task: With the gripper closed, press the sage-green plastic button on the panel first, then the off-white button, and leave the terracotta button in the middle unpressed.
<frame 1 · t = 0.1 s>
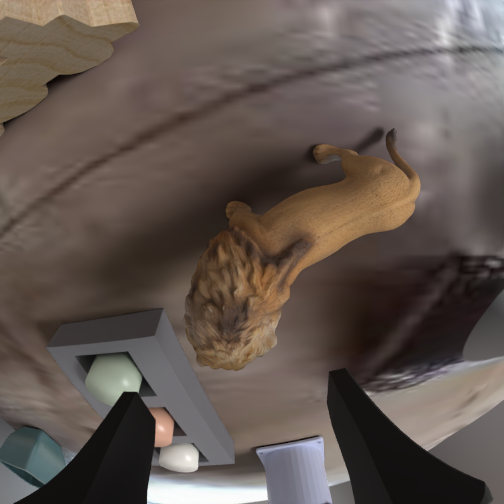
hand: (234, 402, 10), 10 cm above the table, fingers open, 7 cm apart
button panel: (156, 398, 24), on the table
sage button: (115, 377, 19), point 3 cm above the table, slide at 0.0 cm
lion figurine: (295, 205, 18), on the table
toy train: (32, 71, 12), on the table
terracotta button: (151, 423, 22), point 3 cm above the table, slide at 0.0 cm
flower pot: (43, 435, 30), on the table
cream button: (179, 453, 24), point 3 cm above the table, slide at 0.0 cm
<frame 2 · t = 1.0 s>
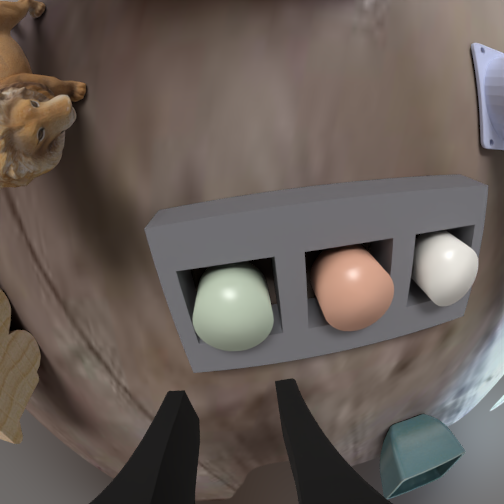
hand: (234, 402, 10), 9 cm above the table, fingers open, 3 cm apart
button panel: (334, 261, 18), on the table
sage button: (233, 305, 16), point 3 cm above the table, slide at 0.0 cm
lion figurine: (56, 72, 12), on the table
terracotta button: (350, 285, 16), point 3 cm above the table, slide at 0.0 cm
flower pot: (402, 426, 30), on the table
cream button: (442, 266, 16), point 3 cm above the table, slide at 0.0 cm
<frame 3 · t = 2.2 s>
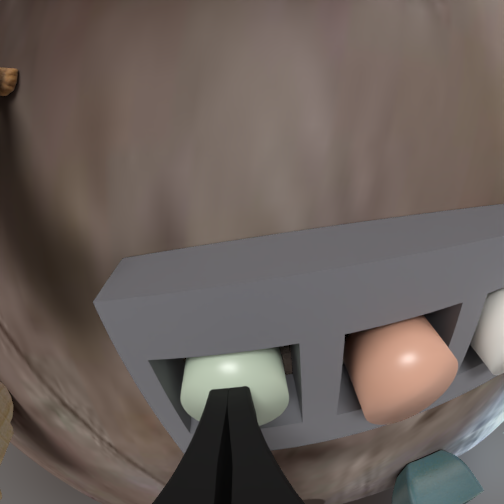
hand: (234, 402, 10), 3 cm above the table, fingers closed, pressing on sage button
button panel: (373, 321, 13), on the table
sage button: (234, 374, 11), point 2 cm above the table, slide at 1.3 cm, touching gripper
terracotta button: (399, 366, 10), point 3 cm above the table, slide at 0.0 cm
flower pot: (418, 462, 24), on the table
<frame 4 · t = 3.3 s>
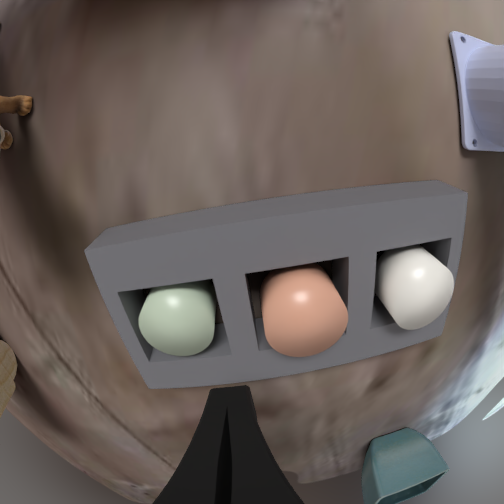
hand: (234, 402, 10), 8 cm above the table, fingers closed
button panel: (291, 278, 17), on the table
sage button: (179, 311, 16), point 2 cm above the table, slide at 1.3 cm
lion figurine: (8, 87, 11), on the table
terracotta button: (301, 308, 15), point 3 cm above the table, slide at 0.0 cm
flower pot: (385, 439, 29), on the table
cream button: (412, 284, 15), point 3 cm above the table, slide at 0.0 cm
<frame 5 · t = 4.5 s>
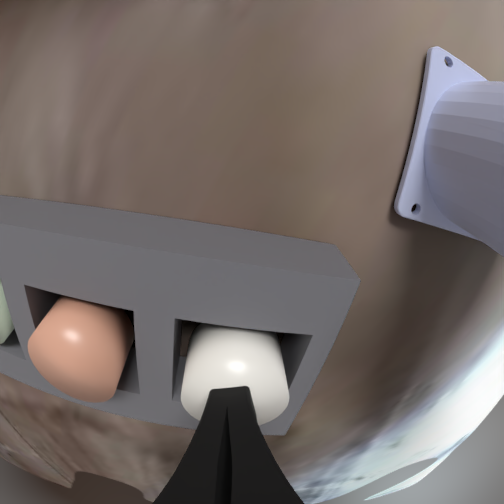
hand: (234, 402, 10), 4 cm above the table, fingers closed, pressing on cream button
button panel: (104, 305, 13), on the table
terracotta button: (81, 345, 10), point 3 cm above the table, slide at 0.0 cm
cream button: (234, 373, 11), point 3 cm above the table, slide at 0.0 cm, touching gripper
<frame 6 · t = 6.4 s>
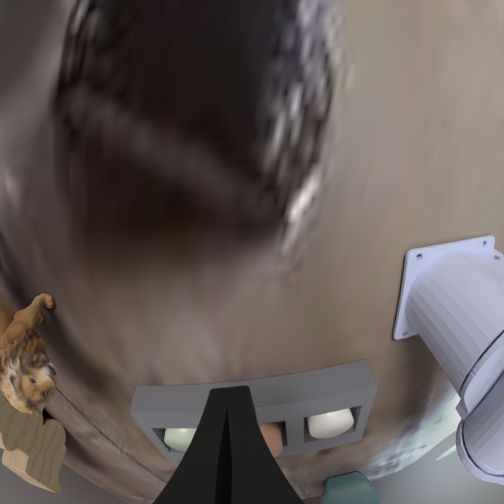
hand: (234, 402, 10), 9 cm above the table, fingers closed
button panel: (256, 411, 25), on the table
sage button: (187, 430, 23), point 2 cm above the table, slide at 1.3 cm
lion figurine: (26, 277, 18), on the table
toy train: (26, 397, 25), on the table
terracotta button: (258, 437, 22), point 3 cm above the table, slide at 0.0 cm
flower pot: (340, 477, 36), on the table
cream button: (328, 414, 23), point 2 cm above the table, slide at 1.3 cm
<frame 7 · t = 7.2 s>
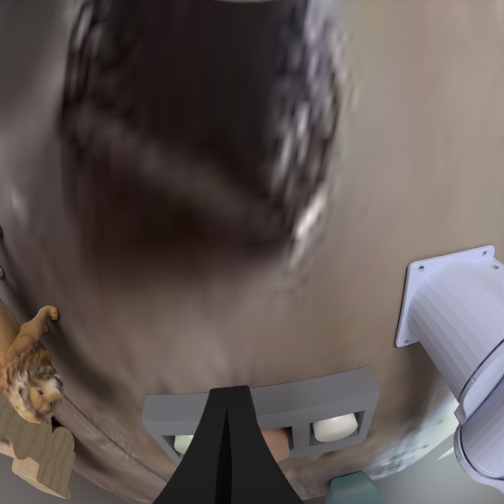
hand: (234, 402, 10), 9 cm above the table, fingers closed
button panel: (262, 417, 25), on the table
sage button: (196, 436, 24), point 2 cm above the table, slide at 1.3 cm
lion figurine: (31, 288, 18), on the table
toy train: (34, 405, 26), on the table
terracotta button: (265, 442, 22), point 3 cm above the table, slide at 0.0 cm
flower pot: (344, 477, 37), on the table
cream button: (333, 419, 24), point 2 cm above the table, slide at 1.3 cm
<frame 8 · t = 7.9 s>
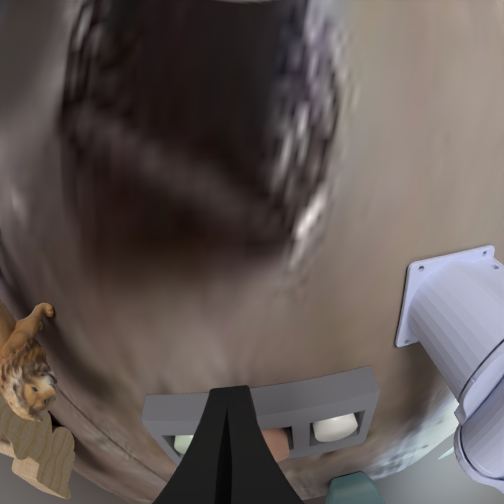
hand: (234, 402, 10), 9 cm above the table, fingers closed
button panel: (262, 417, 25), on the table
sage button: (196, 436, 24), point 2 cm above the table, slide at 1.3 cm
lion figurine: (27, 285, 18), on the table
toy train: (34, 405, 26), on the table
terracotta button: (265, 442, 22), point 3 cm above the table, slide at 0.0 cm
flower pot: (344, 477, 37), on the table
cream button: (333, 419, 24), point 2 cm above the table, slide at 1.3 cm
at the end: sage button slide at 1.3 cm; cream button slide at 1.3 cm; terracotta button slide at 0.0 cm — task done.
